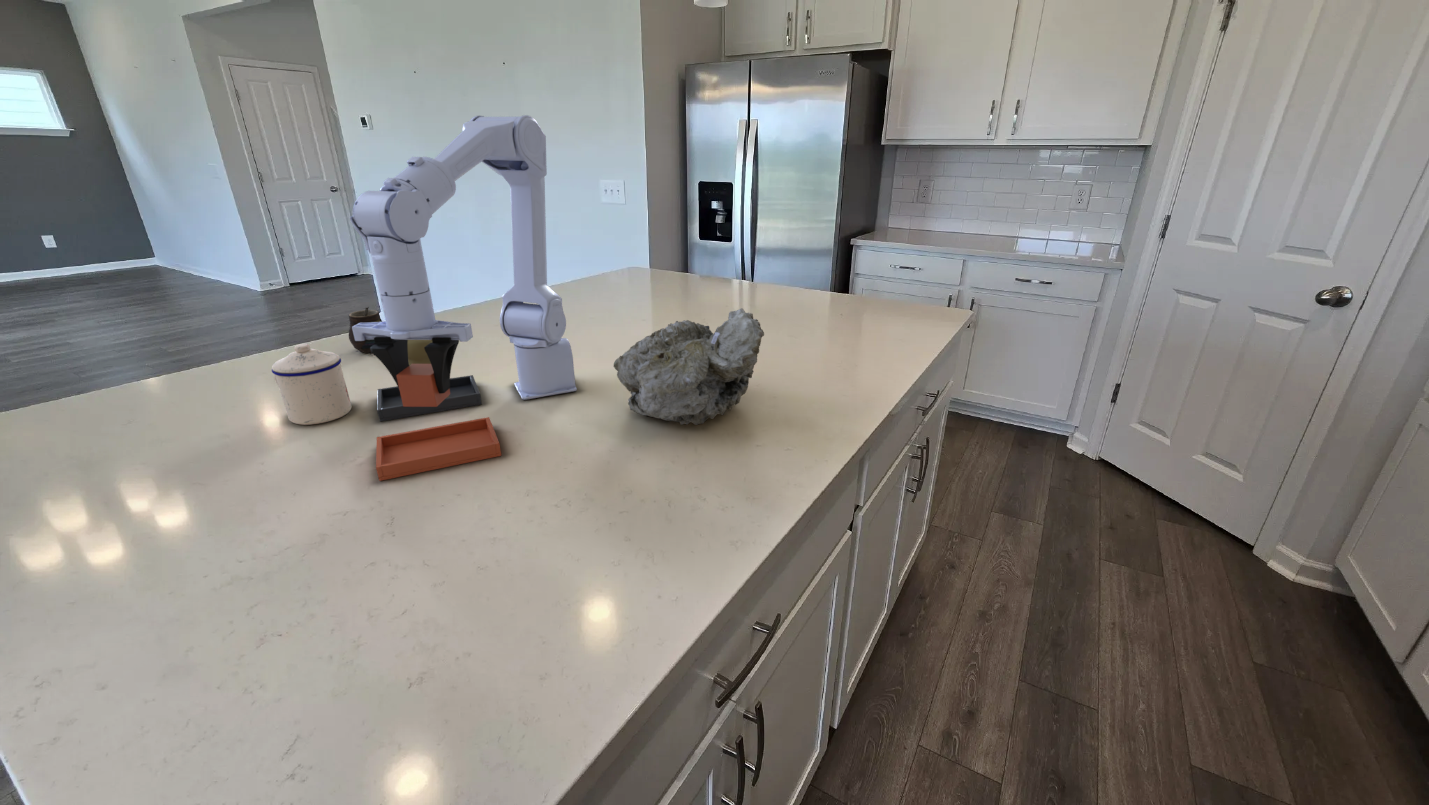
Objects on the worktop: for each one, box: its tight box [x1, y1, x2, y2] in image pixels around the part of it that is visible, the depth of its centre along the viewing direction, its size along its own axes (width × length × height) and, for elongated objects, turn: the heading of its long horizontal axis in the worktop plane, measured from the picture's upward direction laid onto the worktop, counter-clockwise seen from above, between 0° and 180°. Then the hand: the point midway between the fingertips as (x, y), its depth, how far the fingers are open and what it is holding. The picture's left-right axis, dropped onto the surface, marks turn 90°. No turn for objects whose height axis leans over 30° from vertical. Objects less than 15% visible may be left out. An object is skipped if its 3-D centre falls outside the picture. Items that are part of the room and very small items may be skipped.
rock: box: [613, 307, 765, 426], centre depth 93 cm, size 24×17×25 cm
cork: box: [408, 340, 449, 398], centre depth 97 cm, size 6×6×11 cm
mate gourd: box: [348, 306, 383, 354], centre depth 122 cm, size 7×8×10 cm
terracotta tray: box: [375, 416, 502, 482], centre depth 82 cm, size 15×10×2 cm, turn 118°
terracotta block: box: [396, 364, 450, 407], centre depth 79 cm, size 4×4×4 cm
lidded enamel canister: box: [271, 343, 352, 426], centre depth 92 cm, size 12×9×12 cm
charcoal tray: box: [376, 374, 483, 422], centre depth 99 cm, size 15×10×2 cm, turn 118°
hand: (425, 390), depth 79 cm, fingers closed on terracotta block, 4 cm apart
